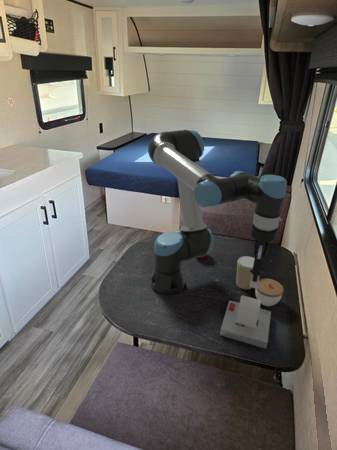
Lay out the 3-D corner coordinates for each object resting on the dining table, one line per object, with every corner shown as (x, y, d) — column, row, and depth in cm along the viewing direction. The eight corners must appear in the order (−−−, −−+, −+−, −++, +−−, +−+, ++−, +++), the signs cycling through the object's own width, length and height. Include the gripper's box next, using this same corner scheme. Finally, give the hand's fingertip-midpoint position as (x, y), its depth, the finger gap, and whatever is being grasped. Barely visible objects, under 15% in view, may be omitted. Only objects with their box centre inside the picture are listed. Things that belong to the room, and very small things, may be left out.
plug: (234, 328, 109) (238, 306, 104) (237, 317, 114) (241, 295, 110) (254, 334, 107) (259, 311, 102) (256, 322, 112) (261, 300, 107)
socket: (219, 334, 107) (221, 327, 105) (228, 306, 120) (229, 298, 118) (266, 349, 102) (268, 341, 100) (269, 317, 115) (271, 309, 113)
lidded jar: (259, 289, 130) (263, 271, 126) (283, 300, 124) (288, 282, 120) (248, 302, 122) (252, 283, 118) (273, 314, 116) (278, 295, 112)
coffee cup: (256, 292, 128) (260, 269, 123) (234, 289, 130) (237, 266, 124) (254, 279, 136) (259, 257, 131) (234, 276, 138) (237, 254, 132)
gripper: (276, 237, 85) (262, 301, 96) (279, 219, 96) (266, 278, 107) (249, 232, 87) (239, 295, 98) (255, 215, 98) (245, 273, 109)
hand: (253, 286), depth 102 cm, fingers closed
